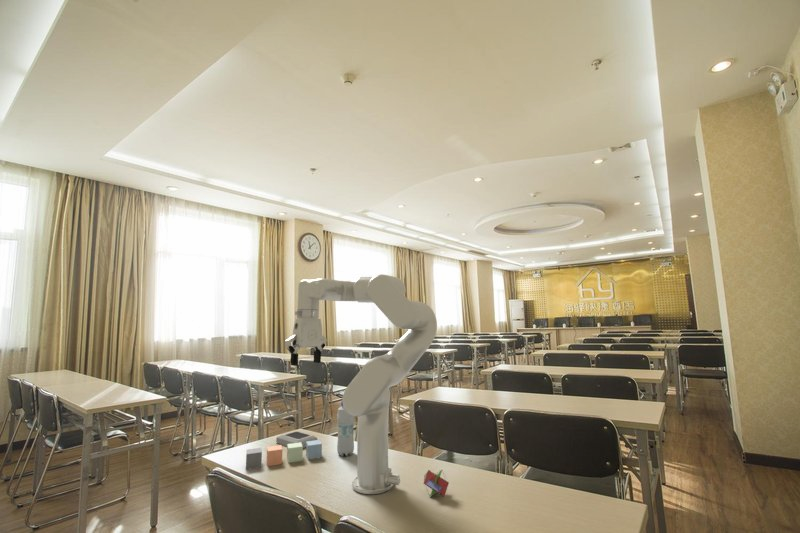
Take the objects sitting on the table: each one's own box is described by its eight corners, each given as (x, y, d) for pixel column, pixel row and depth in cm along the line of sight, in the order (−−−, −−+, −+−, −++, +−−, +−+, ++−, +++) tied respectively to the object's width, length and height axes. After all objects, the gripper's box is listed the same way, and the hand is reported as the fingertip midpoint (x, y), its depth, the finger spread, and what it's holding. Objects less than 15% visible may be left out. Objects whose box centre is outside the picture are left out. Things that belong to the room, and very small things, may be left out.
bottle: (335, 452, 142) (335, 398, 145) (352, 450, 144) (352, 396, 147) (337, 458, 136) (338, 401, 138) (356, 456, 138) (356, 400, 140)
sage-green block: (300, 456, 139) (301, 442, 140) (302, 460, 134) (302, 446, 135) (286, 458, 137) (287, 444, 138) (288, 463, 132) (288, 448, 133)
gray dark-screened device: (295, 429, 162) (317, 435, 153) (295, 438, 162) (317, 444, 152) (276, 434, 155) (298, 441, 146) (276, 443, 154) (298, 451, 145)
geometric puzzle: (457, 485, 107) (441, 459, 110) (449, 495, 101) (432, 467, 104) (439, 497, 109) (423, 472, 112) (430, 508, 103) (414, 480, 106)
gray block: (260, 462, 134) (261, 447, 134) (261, 467, 129) (261, 452, 130) (246, 464, 132) (246, 449, 132) (245, 469, 127) (246, 454, 128)
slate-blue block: (319, 453, 141) (319, 439, 142) (321, 458, 137) (321, 443, 137) (306, 455, 140) (306, 441, 140) (307, 460, 135) (308, 445, 136)
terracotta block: (281, 459, 136) (281, 444, 137) (282, 464, 132) (282, 449, 132) (266, 461, 134) (267, 446, 135) (267, 466, 130) (267, 451, 130)
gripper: (293, 314, 123) (291, 367, 120) (333, 314, 136) (332, 362, 134) (280, 314, 127) (278, 365, 125) (320, 314, 141) (318, 360, 138)
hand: (305, 363), depth 129 cm, fingers open, 9 cm apart
